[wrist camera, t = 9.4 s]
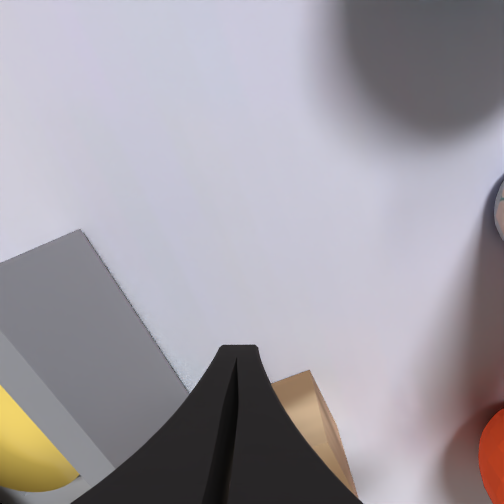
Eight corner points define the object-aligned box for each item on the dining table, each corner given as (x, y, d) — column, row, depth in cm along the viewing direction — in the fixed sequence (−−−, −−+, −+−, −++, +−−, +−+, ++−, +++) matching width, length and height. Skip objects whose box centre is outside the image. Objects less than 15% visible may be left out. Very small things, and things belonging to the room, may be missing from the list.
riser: (238, 395, 16) (233, 472, 12) (309, 369, 15) (327, 441, 11) (269, 447, 17) (273, 532, 13) (336, 425, 16) (361, 507, 12)
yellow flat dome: (-36, 383, 14) (-80, 417, 13) (63, 341, 14) (32, 372, 12) (36, 464, 16) (7, 505, 14) (129, 431, 15) (111, 471, 13)
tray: (-117, 326, 14) (-329, 424, 9) (80, 228, 13) (-41, 280, 8) (58, 507, 18) (-21, 649, 13) (226, 450, 17) (212, 586, 11)
